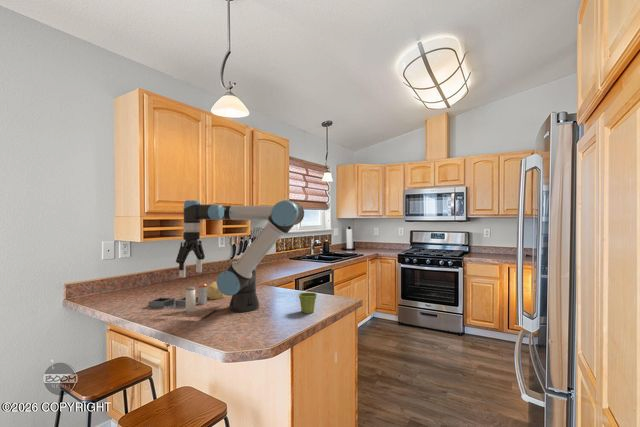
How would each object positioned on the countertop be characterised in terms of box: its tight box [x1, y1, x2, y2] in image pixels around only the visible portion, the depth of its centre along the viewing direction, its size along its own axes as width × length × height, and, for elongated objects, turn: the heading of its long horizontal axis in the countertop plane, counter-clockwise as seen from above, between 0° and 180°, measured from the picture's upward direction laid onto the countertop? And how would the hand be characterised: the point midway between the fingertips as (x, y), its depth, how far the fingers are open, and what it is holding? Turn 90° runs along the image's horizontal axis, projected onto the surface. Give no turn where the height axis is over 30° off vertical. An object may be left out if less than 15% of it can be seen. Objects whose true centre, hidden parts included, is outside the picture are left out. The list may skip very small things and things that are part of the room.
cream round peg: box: [185, 286, 196, 313], centre depth 156 cm, size 4×4×13 cm
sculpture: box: [207, 280, 227, 300], centre depth 183 cm, size 11×12×11 cm
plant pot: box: [297, 291, 318, 314], centre depth 159 cm, size 9×9×9 cm
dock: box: [147, 296, 198, 310], centre depth 167 cm, size 20×14×4 cm
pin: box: [197, 283, 208, 306], centre depth 169 cm, size 4×4×12 cm
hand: (190, 274), depth 157 cm, fingers open, 13 cm apart
